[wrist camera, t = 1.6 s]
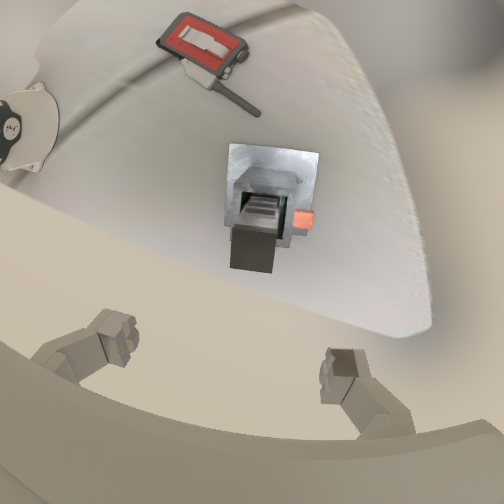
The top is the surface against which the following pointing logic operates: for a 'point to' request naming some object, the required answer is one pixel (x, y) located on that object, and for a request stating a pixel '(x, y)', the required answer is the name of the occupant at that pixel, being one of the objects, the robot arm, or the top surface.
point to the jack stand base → (272, 185)
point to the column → (256, 234)
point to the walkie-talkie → (206, 53)
